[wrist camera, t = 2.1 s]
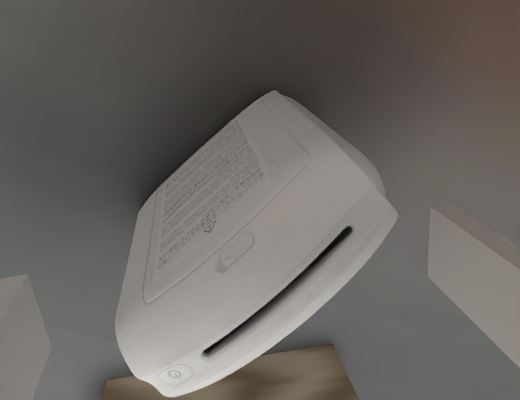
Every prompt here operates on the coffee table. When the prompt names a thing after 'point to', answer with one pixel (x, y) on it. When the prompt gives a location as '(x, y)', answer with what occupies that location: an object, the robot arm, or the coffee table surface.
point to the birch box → (260, 380)
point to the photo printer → (246, 245)
